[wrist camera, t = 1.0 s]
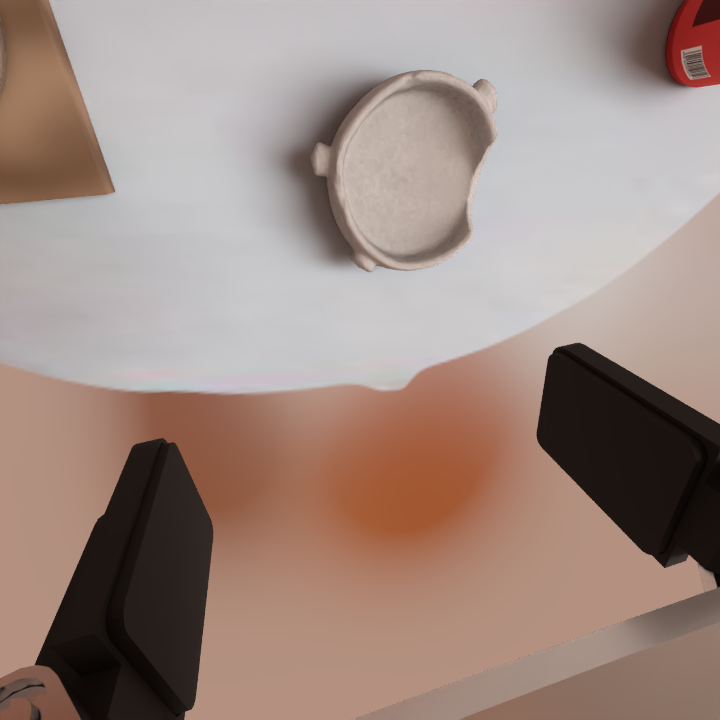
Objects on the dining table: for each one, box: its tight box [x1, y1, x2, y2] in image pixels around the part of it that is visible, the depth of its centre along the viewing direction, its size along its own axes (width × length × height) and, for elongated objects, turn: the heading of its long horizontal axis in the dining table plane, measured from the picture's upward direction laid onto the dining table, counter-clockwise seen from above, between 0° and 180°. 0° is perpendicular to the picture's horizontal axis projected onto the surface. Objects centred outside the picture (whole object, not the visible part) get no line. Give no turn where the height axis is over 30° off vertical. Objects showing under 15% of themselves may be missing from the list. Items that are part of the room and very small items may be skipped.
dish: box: [310, 70, 497, 272], centre depth 31 cm, size 14×14×5 cm
